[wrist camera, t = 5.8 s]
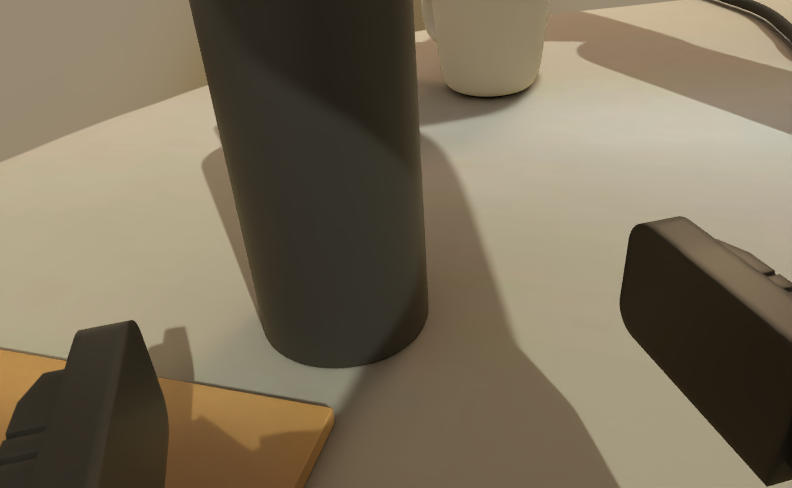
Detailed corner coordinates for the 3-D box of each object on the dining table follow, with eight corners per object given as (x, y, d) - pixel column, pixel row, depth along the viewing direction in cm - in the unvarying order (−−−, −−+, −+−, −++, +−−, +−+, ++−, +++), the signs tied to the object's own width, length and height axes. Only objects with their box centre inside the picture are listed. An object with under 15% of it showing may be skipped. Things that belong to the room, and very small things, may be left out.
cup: (387, 79, 47) (378, -37, 42) (467, 57, 50) (467, -52, 46) (486, 115, 39) (487, -23, 35) (572, 85, 43) (583, -43, 38)
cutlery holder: (303, 260, 26) (215, -255, 17) (444, 275, 24) (426, -284, 16) (234, 355, 21) (59, -291, 12) (402, 382, 20) (343, -341, 11)
